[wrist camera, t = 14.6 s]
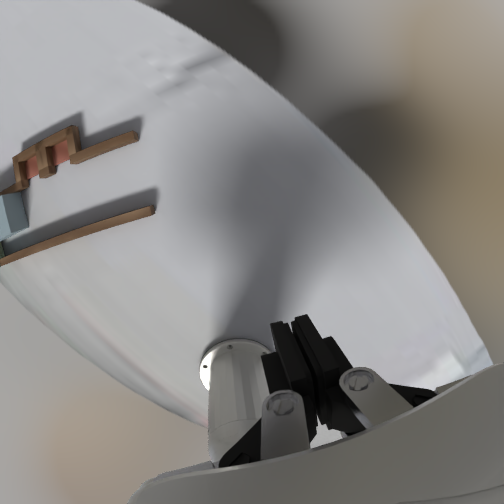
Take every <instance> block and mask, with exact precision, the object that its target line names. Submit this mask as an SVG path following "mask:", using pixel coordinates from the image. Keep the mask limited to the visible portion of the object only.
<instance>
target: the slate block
mask: <svg viewBox="0 0 504 504" xmlns="http://www.w3.org/2000/svg"><path fill="white" fill-rule="evenodd" d="M28 227H29V225H28V221H27V218H26V214H25V210H24V206H23V201H22V197H21V193H20V192H17V193H11V194H4V195H1V196H0V242H1V241H3V240H5V239H7V238H9V237H11V236H13V235H14V234H16V233H18V232H20V231H22V230H24V229H26V228H28Z"/></svg>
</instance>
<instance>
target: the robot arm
mask: <svg viewBox="0 0 504 504" xmlns="http://www.w3.org/2000/svg"><path fill="white" fill-rule="evenodd" d="M270 326H271V331H272V335H273V340H274V345H275V349H276V352H273V353H271V352H270V351H269V349H267V348H266V347H265V346H264V345H262V344H260V343H258V342H255V341H252V340H247V339H232V340H227V341H224V342H221V343H218V344H217V345H215V346H213V347H212V348H211V349H209V350H208V351H207V352H206V354H205V355H204V356H203V358H202V360H201V364H200V378H201V380H202V382H203V384H204V385H205V387H206V388H207V389H208V390H209V406H208V451H209V456H210V458H211V461H208V462H204V463H201V464H197V465H193V466H190V467H186V468H182V469H178V470H174V471H169V472H165V473H162V474H160V475H158V476H157V477H155V478H151V479H149V480H147V481H145V482H144V483H143V484H142V485H141V486H140V488H139V489H138V490H137V491H136V492H135V493H134V494H133V495H132V496H131V498H130V499H129V501H128V503H127V504H504V362H502V363H498V364H495V365H492V366H490V367H487V368H485V369H483V370H481V371H479V372H477V373H475V374H473V375H470V376H468V377H465V378H462V379H460V380H457V381H454V382H452V383H449V384H446V385H443V386H440V387H437V388H436V390H435V391H432V390H429V389H423V388H415V387H408V386H401V385H395V384H388V383H387V382H385V381H384V380H383V379H382V378H381V377H380V376H379V375H378V374H377V373H376V372H375V371H373V370H372V369H369V368H366V367H357V368H353V367H352V365H351V364H350V362H349V361H348V359H347V358H346V356H345V355H344V353H343V352H342V350H341V349H340V347H339V346H338V344H337V343H336V341H335V340H334V339H333V337H331V336H330V337H327V338H323V339H322V338H321V336H320V334H319V333H318V331H317V330H316V328H315V326H314V325H313V323H312V321H311V320H310V318H309V317H308V315H307V314H305V315H302V316H298V317H295V321H292V322H291V326H292V331H291V329H290V327H289V325H288V323H284V324H283V322H282V321H279V322H275V323H271V324H270ZM292 332H293V333H292ZM317 416H318V418H319V420H320V423H321V425H323V424H326V425H327V427H328V430H331V429H335V430H339V431H341V435H342V437H343V439H340V440H337V441H334V442H331V443H328V444H325V445H322V446H318V447H315V448H312V449H311V448H310V442H311V441H312V440H313V438H314V437H315V436H316V434H317V431H316V427H317V426H318V422H317Z"/></svg>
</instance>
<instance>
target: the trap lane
mask: <svg viewBox="0 0 504 504" xmlns="http://www.w3.org/2000/svg"><path fill="white" fill-rule="evenodd" d="M137 141H139V140H138V135H137V133H136V132H135V131H130V132H127V133H125V134H122V135H119V136H116V137H114V138H111V139H108V140H106V141H103V142H101V143H98V144H96V145H93V146H91V147H88V148H86V149H84V150H82V149H81V143H80V137H79V130H78V127H76V126H73V125H71V126H69V127H67V128H65V129H63V130H61V131H59V132H57V133H55V134H53V135H51V136H49V137H47V138H45V139H43V140H42V141H40V142H38V143H36V144H34V145H33V146H31V147H29V148H28V149H26V150H24V151H22V152H21V153H19V154H18V155H16V156H14V157H13V158H12V159H13V166H14V173H15V180H16V183H15V184H13V185H12V186H10V187H8V188H7V189H5V190H3V191H2V192H0V196H1V195H4V194H11V193H17V192H21V191H22V190H24V189H26V188H28V187H29V182H28V179H30V178H32V177H34V176H36V175H38V174H39V177H40V178H48V177H50V176H52V175H54V174H56V169H55V166H56V165H58V164H60V163H62V162H64V161H67V160H69V159H70V164H79V163H81V162H84V161H86V160H88V159H91V158H93V157H96V156H98V155H101V154H104V153H106V152H109V151H112V150H114V149H117V148H120V147H123V146H126V145H128V144H131V143H134V142H137ZM153 214H155V210H154V206H153V205H151V206H147V207H144V208H140V209H137V210H134V211H130V212H127V213H124V214H121V215H117V216H114V217H111V218H108V219H105V220H102V221H99V222H96V223H93V224H90V225H87V226H84V227H81V228H78V229H75V230H72V231H69V232H67V233H64V234H61V235H58V236H56V237H53V238H50V239H48V240H45V241H42V242H40V243H37V244H35V245H32V246H30V247H27V248H25V249H22V250H20V251H17V252H15V253H12V254H10V255H8V256H5V254H4V251H3V248H2V244H1V242H0V267H1V266H3V265H5V264H8V263H10V262H13V261H16V260H18V259H21V258H23V257H26V256H29V255H31V254H34V253H37V252H39V251H42V250H45V249H48V248H50V247H53V246H56V245H59V244H62V243H65V242H68V241H71V240H74V239H77V238H80V237H83V236H86V235H89V234H92V233H95V232H98V231H101V230H104V229H108V228H111V227H114V226H117V225H121V224H124V223H127V222H131V221H134V220H137V219H141V218H144V217H148V216H151V215H153Z"/></svg>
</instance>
